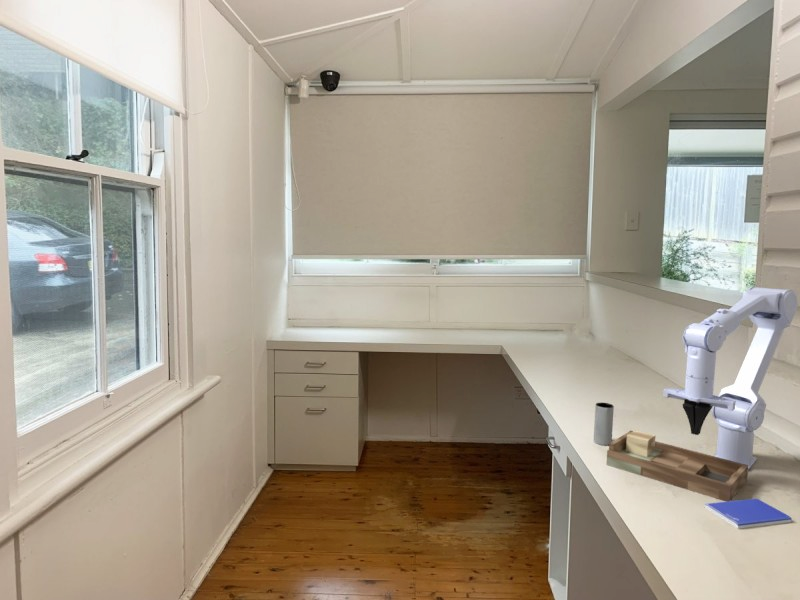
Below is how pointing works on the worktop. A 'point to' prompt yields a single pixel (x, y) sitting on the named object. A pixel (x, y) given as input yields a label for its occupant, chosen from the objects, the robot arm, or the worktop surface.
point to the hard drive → (748, 513)
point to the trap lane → (681, 468)
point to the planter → (603, 423)
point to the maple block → (640, 443)
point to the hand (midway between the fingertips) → (695, 433)
